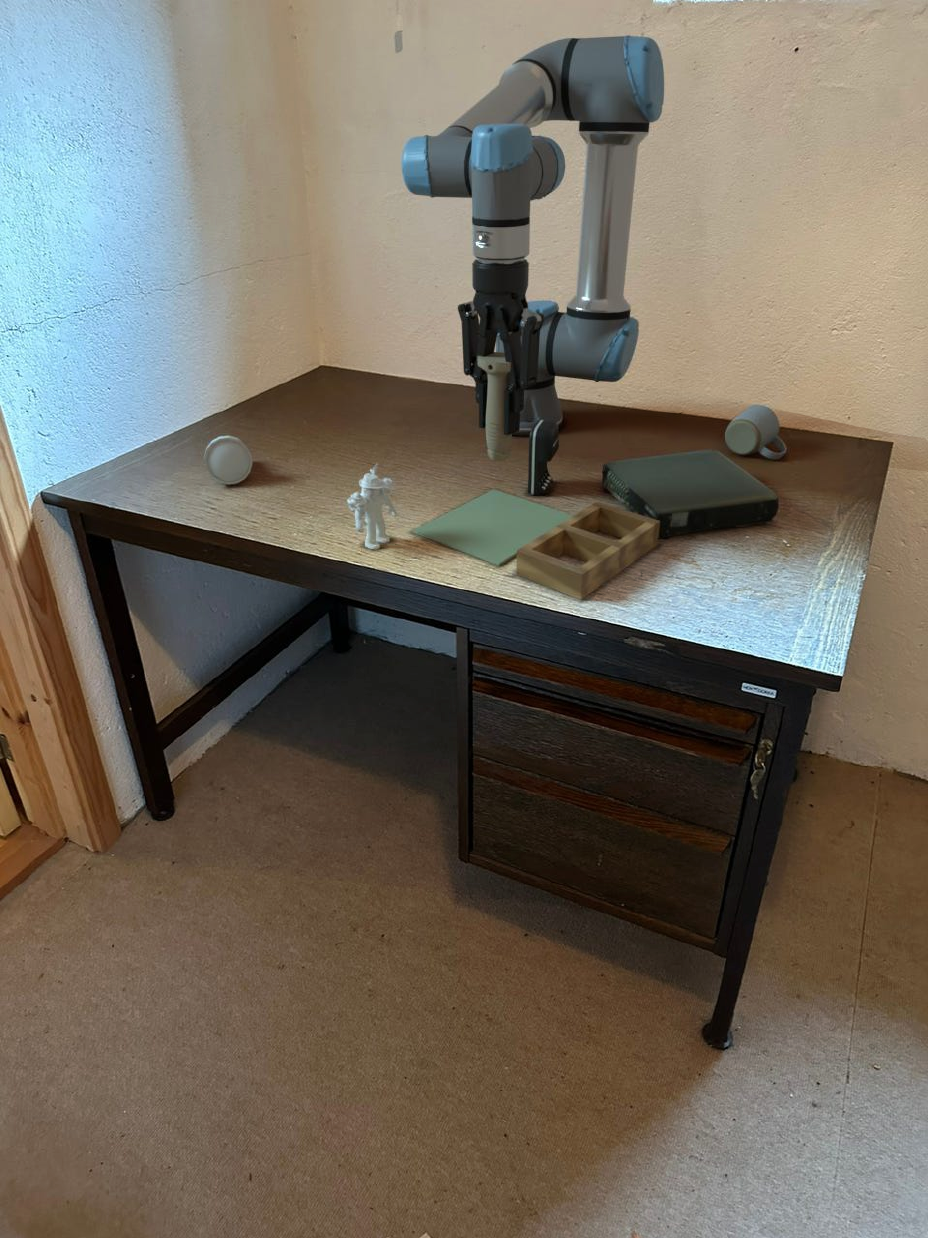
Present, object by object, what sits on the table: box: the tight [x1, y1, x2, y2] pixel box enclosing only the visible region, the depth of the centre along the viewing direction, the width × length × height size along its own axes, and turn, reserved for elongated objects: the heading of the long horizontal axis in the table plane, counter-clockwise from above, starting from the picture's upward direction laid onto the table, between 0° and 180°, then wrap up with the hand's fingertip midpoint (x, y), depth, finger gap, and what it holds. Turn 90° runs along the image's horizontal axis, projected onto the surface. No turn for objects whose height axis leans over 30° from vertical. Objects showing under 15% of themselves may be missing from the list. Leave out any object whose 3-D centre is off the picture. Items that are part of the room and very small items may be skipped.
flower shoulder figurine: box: [346, 461, 398, 550], centre depth 127 cm, size 9×4×12 cm, turn 144°
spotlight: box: [203, 435, 253, 486], centre depth 152 cm, size 8×11×8 cm
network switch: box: [601, 448, 780, 539], centre depth 138 cm, size 23×24×5 cm
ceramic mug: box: [724, 404, 788, 461], centre depth 156 cm, size 11×8×8 cm
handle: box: [478, 351, 518, 462], centre depth 124 cm, size 5×6×15 cm
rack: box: [515, 501, 660, 601], centre depth 124 cm, size 20×11×4 cm, turn 140°
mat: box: [412, 488, 575, 567], centre depth 134 cm, size 20×17×1 cm
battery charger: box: [527, 420, 560, 496], centre depth 143 cm, size 7×4×11 cm, turn 162°
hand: (499, 428), depth 126 cm, fingers closed on handle, 4 cm apart
